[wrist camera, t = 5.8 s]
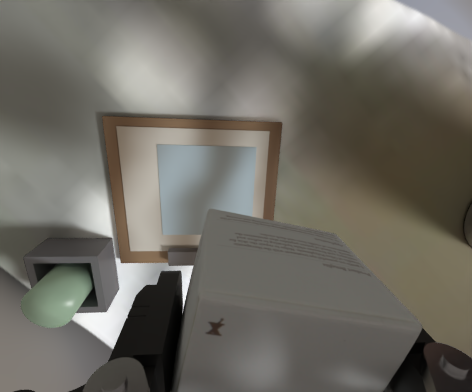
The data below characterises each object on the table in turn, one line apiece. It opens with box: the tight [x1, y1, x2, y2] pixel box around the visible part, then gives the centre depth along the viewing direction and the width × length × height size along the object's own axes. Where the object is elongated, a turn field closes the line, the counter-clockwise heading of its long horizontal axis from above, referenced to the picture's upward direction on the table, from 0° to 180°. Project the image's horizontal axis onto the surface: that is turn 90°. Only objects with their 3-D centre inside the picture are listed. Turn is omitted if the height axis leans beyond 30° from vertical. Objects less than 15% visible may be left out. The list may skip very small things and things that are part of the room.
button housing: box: [23, 238, 119, 313], centre depth 22 cm, size 6×6×3 cm
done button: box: [21, 263, 95, 328], centre depth 20 cm, size 4×4×4 cm
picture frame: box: [102, 116, 282, 266], centre depth 21 cm, size 14×13×1 cm
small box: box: [170, 209, 422, 392], centre depth 9 cm, size 6×6×5 cm
